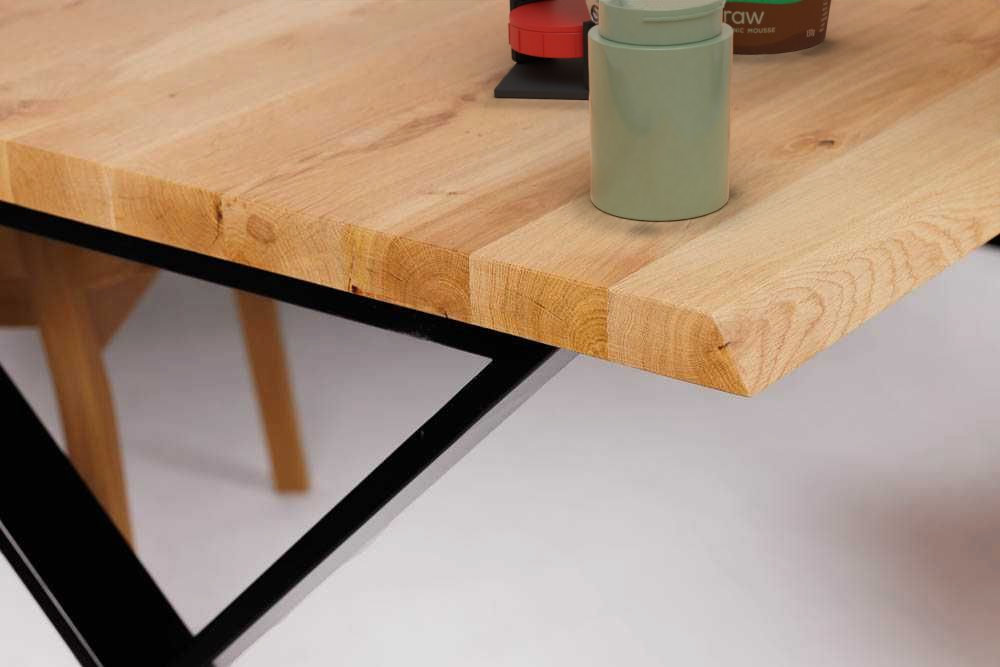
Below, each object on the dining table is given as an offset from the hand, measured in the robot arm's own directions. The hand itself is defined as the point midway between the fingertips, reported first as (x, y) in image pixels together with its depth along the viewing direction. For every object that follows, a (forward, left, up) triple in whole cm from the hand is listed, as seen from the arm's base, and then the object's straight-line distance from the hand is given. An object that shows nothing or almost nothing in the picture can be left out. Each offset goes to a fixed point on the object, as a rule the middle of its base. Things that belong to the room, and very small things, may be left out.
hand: (570, 70), depth 88 cm
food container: (-10, -9, -1) cm, 14 cm away
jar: (-8, +20, -1) cm, 22 cm away
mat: (0, 0, -1) cm, 1 cm away
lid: (0, 0, +3) cm, 3 cm away
